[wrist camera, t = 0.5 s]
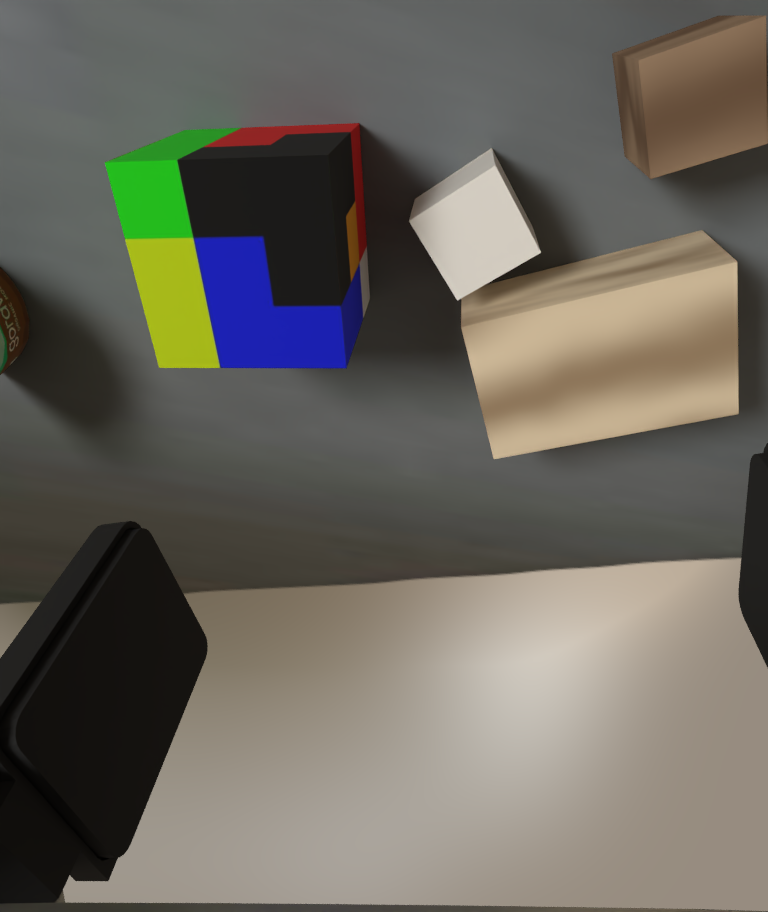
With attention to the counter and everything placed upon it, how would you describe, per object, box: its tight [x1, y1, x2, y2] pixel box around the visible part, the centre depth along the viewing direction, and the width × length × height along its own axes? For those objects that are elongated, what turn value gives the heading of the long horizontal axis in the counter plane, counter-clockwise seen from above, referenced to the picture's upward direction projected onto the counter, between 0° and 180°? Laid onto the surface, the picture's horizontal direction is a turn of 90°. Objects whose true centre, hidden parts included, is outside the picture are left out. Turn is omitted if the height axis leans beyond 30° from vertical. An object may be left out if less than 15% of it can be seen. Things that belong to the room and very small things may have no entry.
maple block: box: [461, 230, 739, 459], centre depth 39 cm, size 9×14×6 cm, turn 107°
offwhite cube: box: [409, 148, 541, 301], centre depth 36 cm, size 5×5×5 cm
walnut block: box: [612, 16, 768, 179], centre depth 31 cm, size 5×5×6 cm
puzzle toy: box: [105, 123, 370, 368], centre depth 35 cm, size 10×10×10 cm
